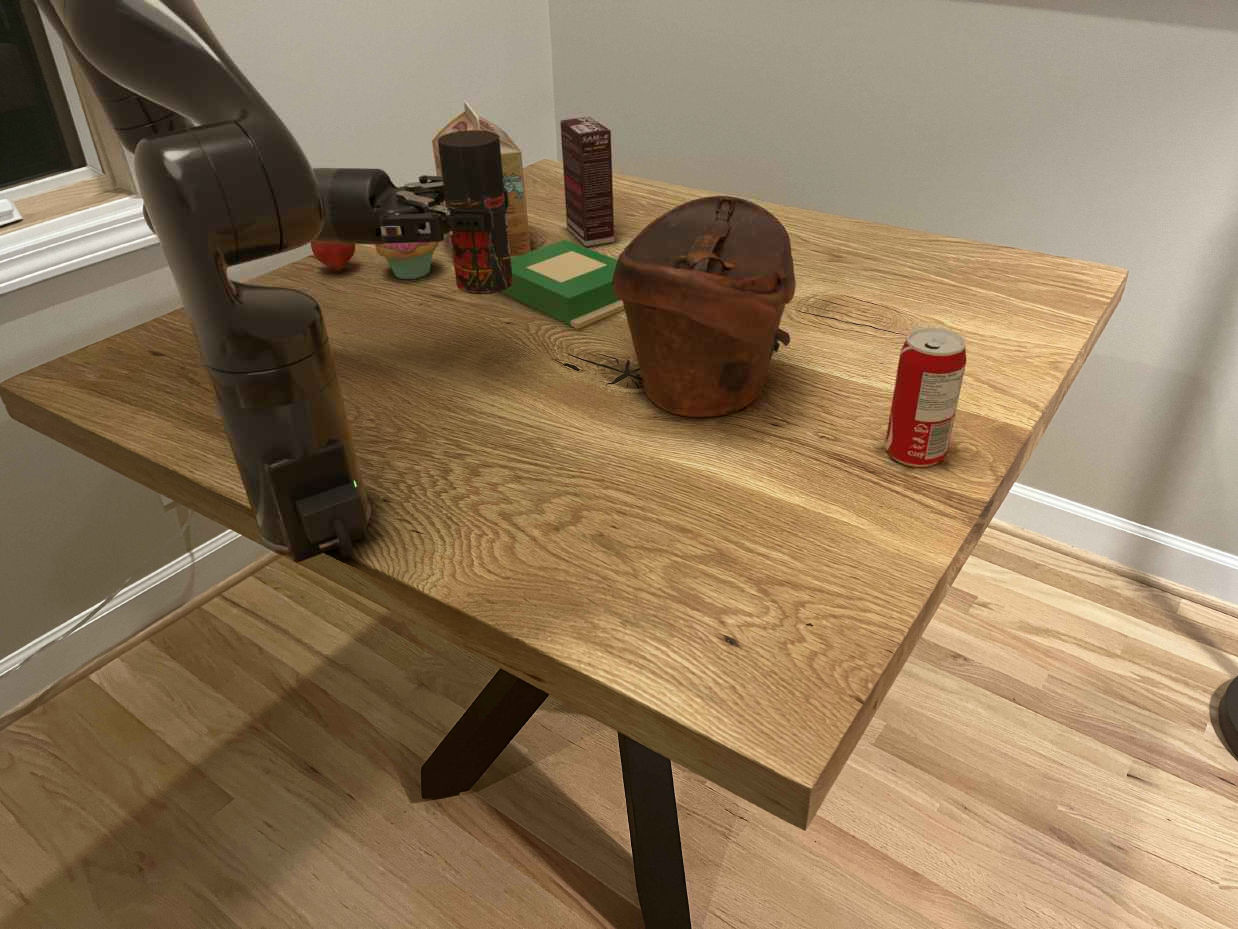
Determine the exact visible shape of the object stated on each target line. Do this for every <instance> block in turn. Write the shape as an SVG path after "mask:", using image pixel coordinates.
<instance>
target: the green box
mask: <svg viewBox="0 0 1238 929" xmlns="http://www.w3.org/2000/svg"><path fill="white" fill-rule="evenodd" d="M617 261H618V259H617V258H613V257H612V256H609V255H606V254H604V253H601V252H598V251H595V250H593V249H590V248H587V247H586V246H584V245H580V244H577V243H575V242H572V241H570V240H568V239H562V240H560V241H557V242H554V243H551V244H548V245H545V246H543V247H539V248H537V249H534V250H531V252H528V253H523V254H518V255H517V256H514V257H511V266H512V277H513V283H512V285H511V286H510V287H509V288H507V289H505V290H503V291H500V292H499V293H500V294H503V295H505V296H507V297H509V298H511V299H514V300H516V301H518V302H520V303H522V304H524V305H526V306H528V307H530V308H532V309H534V310H537V311H538V312H541V313H544V314H545V315H547V316H549V317H551V318H553V319H556V320H557V321H560V322H562V323H564V324H566V325H569V326H571V327H572V328H574V329H577V330H580V329H581V328H585V327H586V326H589V325H591V324H593V323H595V322H598V321H600V320H603V319H605V318H607V317H610V316H613V315H615V314H617V313H619V312H622V311H625V309H624V304H623V301H621V300H619V299H618V298H617V297H616V295H615V294H614V289H613V287H612V279H613V275H614V271H615V267H616V264H617Z"/></svg>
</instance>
